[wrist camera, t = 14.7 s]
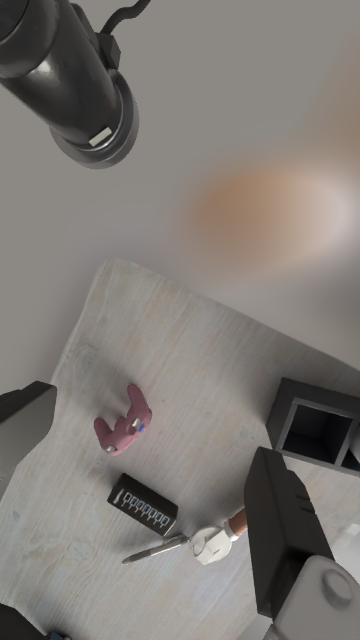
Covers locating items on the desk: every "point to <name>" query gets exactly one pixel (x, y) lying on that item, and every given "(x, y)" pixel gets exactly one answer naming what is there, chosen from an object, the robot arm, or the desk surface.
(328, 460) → the cup holder
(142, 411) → the video game controller
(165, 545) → the pen
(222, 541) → the pizza cutter
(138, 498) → the multiport hub
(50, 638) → the toy car
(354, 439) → the beverage can
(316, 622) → the robot arm
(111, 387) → the desk surface
